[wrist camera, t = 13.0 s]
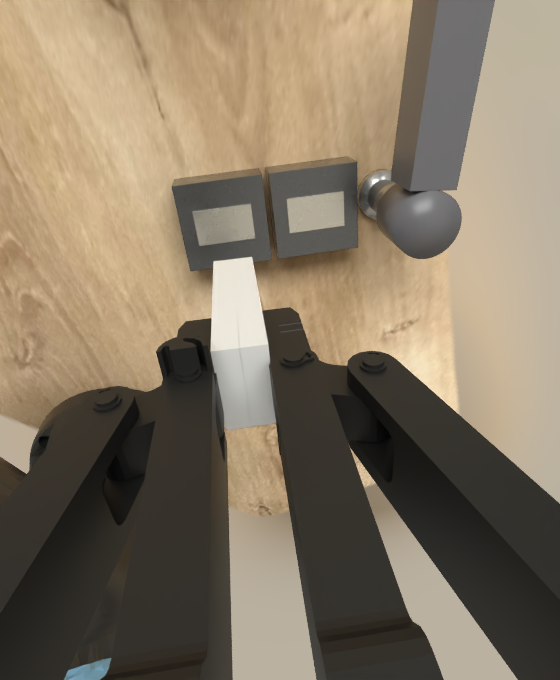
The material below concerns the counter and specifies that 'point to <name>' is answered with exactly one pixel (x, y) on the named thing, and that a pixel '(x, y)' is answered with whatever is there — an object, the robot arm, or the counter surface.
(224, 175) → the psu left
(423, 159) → the cable arm
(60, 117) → the counter surface
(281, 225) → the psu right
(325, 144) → the counter surface
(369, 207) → the pivot post
